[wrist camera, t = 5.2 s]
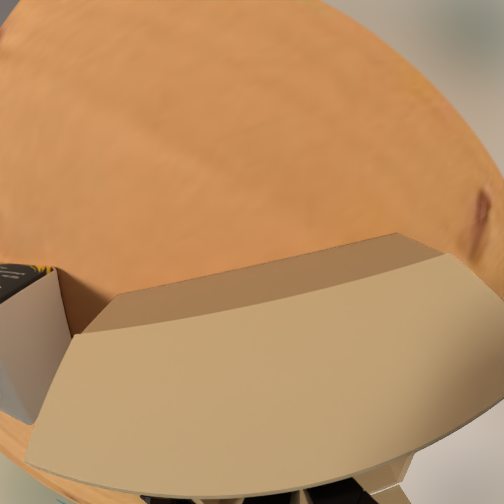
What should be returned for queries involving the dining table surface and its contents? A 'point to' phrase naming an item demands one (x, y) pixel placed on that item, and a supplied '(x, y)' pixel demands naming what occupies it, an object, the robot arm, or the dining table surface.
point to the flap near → (277, 388)
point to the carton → (269, 289)
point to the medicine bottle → (29, 337)
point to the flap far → (391, 496)
